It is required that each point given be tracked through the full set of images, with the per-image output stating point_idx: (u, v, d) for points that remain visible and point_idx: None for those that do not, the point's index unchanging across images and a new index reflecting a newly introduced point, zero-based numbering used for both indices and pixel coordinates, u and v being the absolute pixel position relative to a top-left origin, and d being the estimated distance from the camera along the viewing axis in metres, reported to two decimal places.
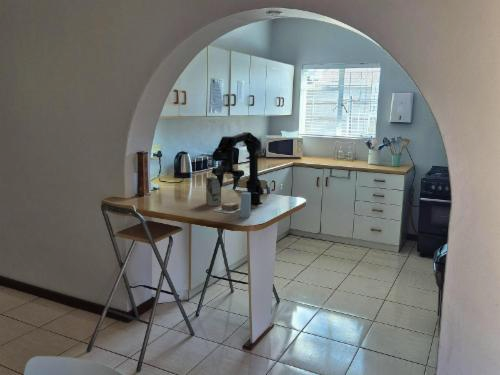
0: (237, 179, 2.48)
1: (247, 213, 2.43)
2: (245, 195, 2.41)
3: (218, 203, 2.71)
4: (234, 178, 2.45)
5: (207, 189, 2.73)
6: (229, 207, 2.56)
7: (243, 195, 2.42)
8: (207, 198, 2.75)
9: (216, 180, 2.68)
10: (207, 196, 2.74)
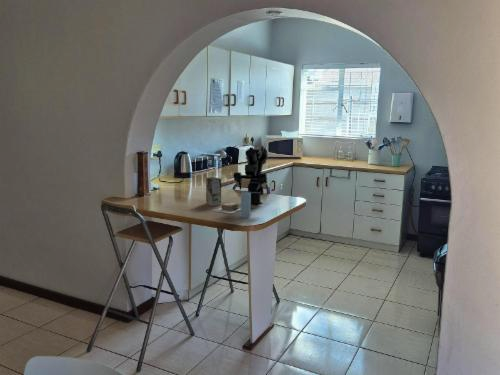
0: (260, 183, 2.54)
1: (247, 213, 2.43)
2: (245, 195, 2.41)
3: (218, 203, 2.71)
4: (259, 179, 2.52)
5: (207, 189, 2.73)
6: (229, 207, 2.56)
7: (243, 195, 2.42)
8: (207, 199, 2.75)
9: (216, 180, 2.68)
10: (207, 196, 2.74)
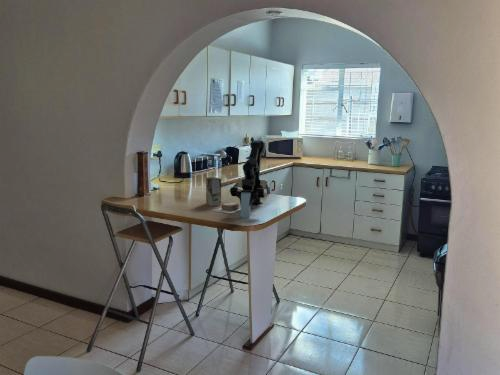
0: (253, 198, 2.46)
1: (247, 213, 2.43)
2: (245, 195, 2.41)
3: (218, 203, 2.71)
4: (253, 194, 2.44)
5: (207, 189, 2.73)
6: (229, 207, 2.56)
7: (243, 195, 2.42)
8: (207, 199, 2.75)
9: (216, 180, 2.68)
10: (207, 196, 2.74)
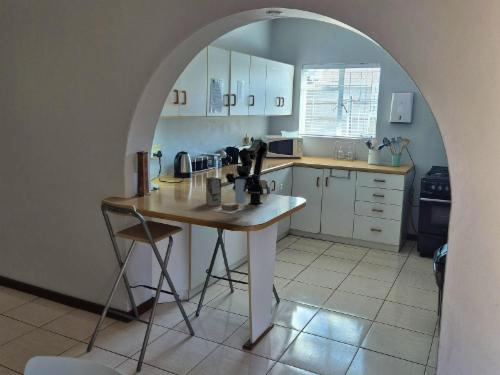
0: (248, 185, 2.47)
1: (241, 199, 2.45)
2: (239, 181, 2.43)
3: (218, 203, 2.71)
4: (248, 180, 2.45)
5: (207, 189, 2.73)
6: (229, 207, 2.56)
7: (237, 181, 2.43)
8: (207, 199, 2.75)
9: (216, 180, 2.68)
10: (207, 196, 2.74)
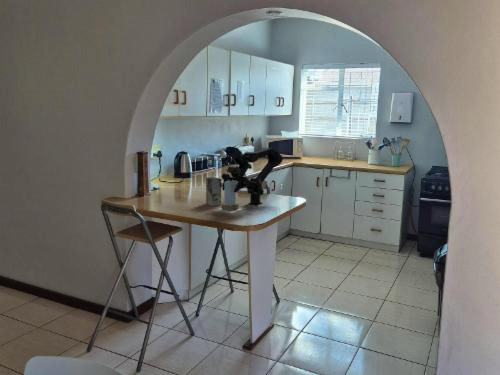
0: (240, 186, 2.56)
1: (228, 201, 2.57)
2: (227, 183, 2.56)
3: (218, 203, 2.71)
4: (239, 182, 2.54)
5: (207, 189, 2.73)
6: (229, 207, 2.56)
7: (226, 183, 2.56)
8: (207, 199, 2.75)
9: (216, 180, 2.68)
10: (207, 196, 2.74)
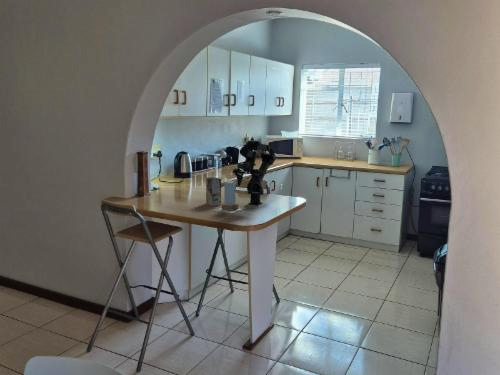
0: (255, 179, 2.60)
1: (228, 201, 2.57)
2: (227, 183, 2.56)
3: (218, 203, 2.71)
4: (252, 176, 2.57)
5: (207, 189, 2.73)
6: (229, 207, 2.56)
7: (226, 183, 2.56)
8: (207, 199, 2.75)
9: (216, 180, 2.68)
10: (207, 196, 2.74)
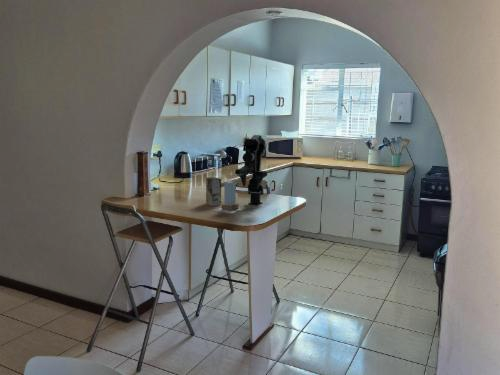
0: (260, 179, 2.56)
1: (228, 201, 2.57)
2: (227, 183, 2.56)
3: (218, 203, 2.71)
4: (257, 179, 2.53)
5: (207, 189, 2.73)
6: (229, 207, 2.56)
7: (226, 183, 2.56)
8: (207, 199, 2.75)
9: (216, 180, 2.68)
10: (207, 196, 2.74)
